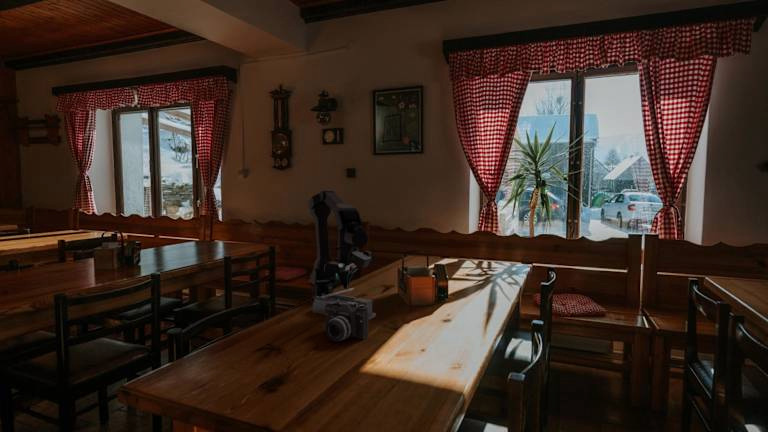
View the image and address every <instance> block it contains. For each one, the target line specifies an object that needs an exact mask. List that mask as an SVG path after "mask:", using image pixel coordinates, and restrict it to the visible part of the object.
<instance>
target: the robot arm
mask: <svg viewBox="0 0 768 432" xmlns="http://www.w3.org/2000/svg"><path fill="white" fill-rule="evenodd" d="M308 208H309V211H310V216H311V217H312V219H314V226H315V239H316V240H315V241H316V255H317V257H316V259H315V261H314V263H313V269H312V271H311V274H310V276H309V281H310V284H313V296H311V297H310V299H311V300H314V296H318V297H321V296H322V293H326V295H328V294H330V293H333V286H332V284H333V283H336V280H337V276H338V278H339V280H340V282H341V284H342V286H343V289H344V290H346V289H349V288H350V287H349V286H350V283H351V281H352V277H353V275H354V274H355V272H357V270H359V268H360V269H364V268H365V267H368V266H369V264H370V262H372V260H373V259H372V252H371V251H369V250H366V251H364V252H361V251H359V249H361V248H364V247H366V245H367V244H368V240H369V236H368V235H367V232H365V230H363V229H364V226H363V225H364V224H363V223H364V222H363V220H362V217H361V215H360V212H359V210H358V208H357V207H355V206H353V205H352V204H347V203H345V202H344V201H343V200H342V199H341V198H340V197H339V196H338V195H337V194H336V191H335V190H330V189H329V190H328V189H327V190H325V189H324V190H321V191H320V192H318V193H317V194H315V195H312V196H311V197H310V199H309V200H308ZM331 212H333V213H334V220H335V222H336V223H337V225H338V226H337V227H336V230H338V240H337V241H338V243H337V245H338V246H335V251H337V252H338V253H337V254H338V255H337V256H338V257H337V258H335V260H333V259H332V257H331V255H330V254H331V253H330V242H329V241H330V240H329V238H330V237H329V226H328V222H329V221H328V218H329V217H330V215H331ZM356 266H357V267H356ZM321 299H322V298H321Z"/></svg>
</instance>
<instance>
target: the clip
mask: <svg viewBox="0 0 768 432" xmlns="http://www.w3.org/2000/svg"><path fill="white" fill-rule="evenodd" d="M353 302H356V303H358V304H359V305H361V304H363V305H365V306H367V309H368V315H369V314H371V313H373V300H372V299H369V298H361V297H360V298H359V297H356V299H355V300H353Z"/></svg>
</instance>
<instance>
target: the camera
mask: <svg viewBox="0 0 768 432" xmlns="http://www.w3.org/2000/svg"><path fill="white" fill-rule="evenodd" d="M324 317H325V333H326V336H327V337H328V339H329V340H331V341H332V342H340V341H344V340H346V339H348V338H353V339H359V340H366V339H367V338H369V320H368V309H367V306H365V305H363V304H361V305H360V304H358V307H357V305H356V302H354V303H351V302H347V303H344V302H341V303H340V302H339V300H337V302H335V301H330V302H328V303H327V304H326V305H325V316H324Z"/></svg>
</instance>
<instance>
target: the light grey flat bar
mask: <svg viewBox="0 0 768 432" xmlns="http://www.w3.org/2000/svg"><path fill="white" fill-rule="evenodd" d="M354 289H355V287H352V288H351V287H349V288H348V289H343V290H339V291H337V292H332V294H328V295H324V296H321V297H319V299H321V298H325V297H329V296H332V295H336V294H338V295H341V294H343V293H347V292H351V291H354Z"/></svg>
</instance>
